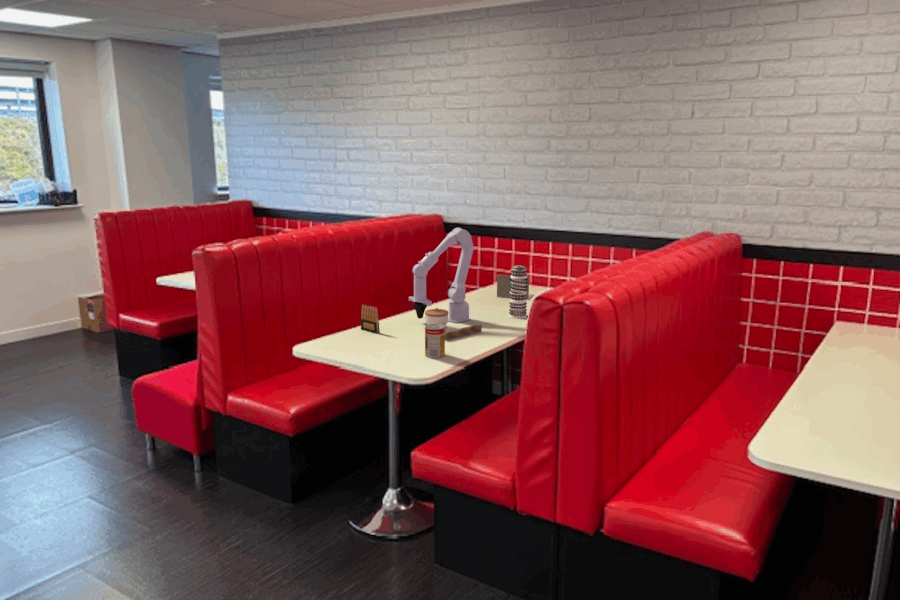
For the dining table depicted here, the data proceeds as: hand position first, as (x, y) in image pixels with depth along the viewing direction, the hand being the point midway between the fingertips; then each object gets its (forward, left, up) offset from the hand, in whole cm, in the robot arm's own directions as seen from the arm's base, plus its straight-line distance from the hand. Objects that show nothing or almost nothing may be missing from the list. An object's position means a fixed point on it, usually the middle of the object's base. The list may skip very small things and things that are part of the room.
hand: (420, 318), depth 324 cm
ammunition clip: (+26, -4, -3) cm, 26 cm away
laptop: (-77, -10, -3) cm, 78 cm away
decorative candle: (-44, +22, -3) cm, 49 cm away
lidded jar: (0, +12, -3) cm, 12 cm away
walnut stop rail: (0, +29, -2) cm, 29 cm away
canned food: (+28, +43, -3) cm, 51 cm away
